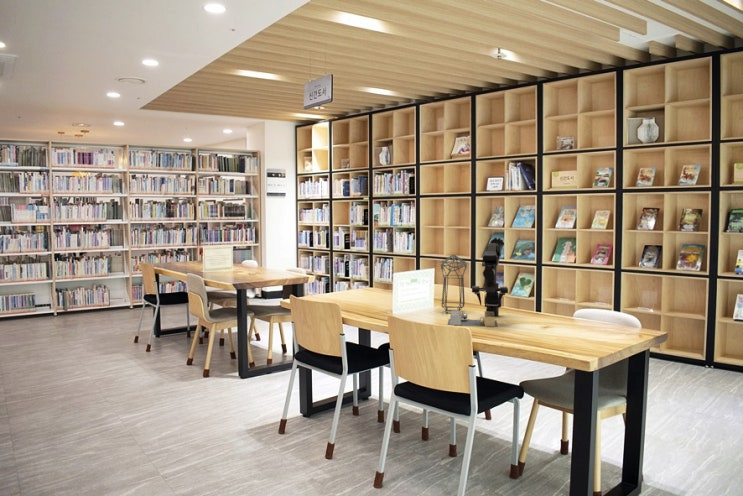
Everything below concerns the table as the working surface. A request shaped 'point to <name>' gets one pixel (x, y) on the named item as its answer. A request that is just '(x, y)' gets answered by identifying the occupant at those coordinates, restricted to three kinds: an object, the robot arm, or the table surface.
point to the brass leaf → (488, 318)
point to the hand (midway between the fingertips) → (489, 305)
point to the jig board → (472, 323)
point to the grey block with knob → (457, 317)
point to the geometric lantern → (453, 278)
